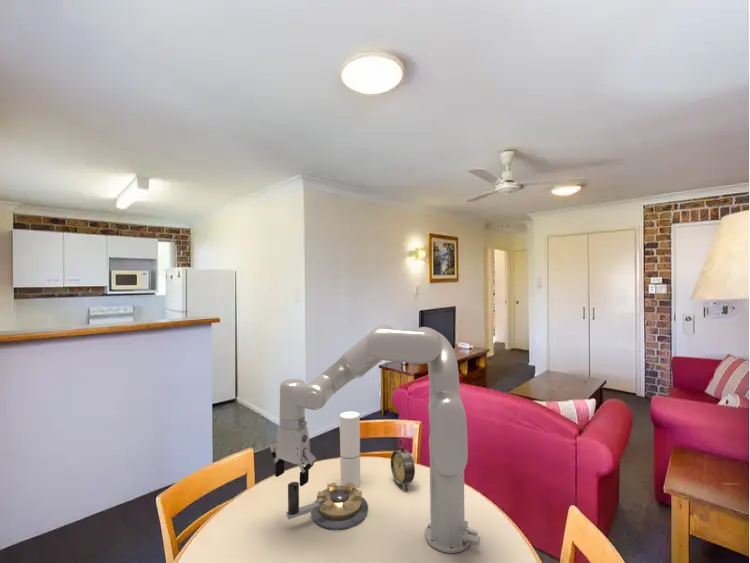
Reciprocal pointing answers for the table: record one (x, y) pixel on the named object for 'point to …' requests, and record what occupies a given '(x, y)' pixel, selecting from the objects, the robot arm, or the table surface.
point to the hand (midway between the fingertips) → (291, 479)
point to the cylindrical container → (350, 448)
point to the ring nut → (327, 502)
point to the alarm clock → (402, 466)
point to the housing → (341, 523)
